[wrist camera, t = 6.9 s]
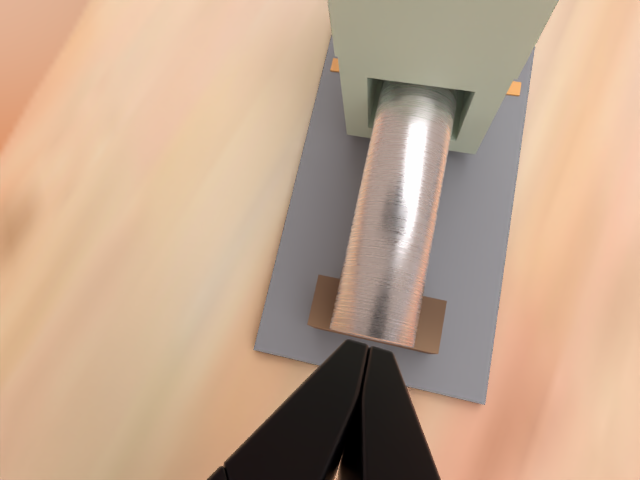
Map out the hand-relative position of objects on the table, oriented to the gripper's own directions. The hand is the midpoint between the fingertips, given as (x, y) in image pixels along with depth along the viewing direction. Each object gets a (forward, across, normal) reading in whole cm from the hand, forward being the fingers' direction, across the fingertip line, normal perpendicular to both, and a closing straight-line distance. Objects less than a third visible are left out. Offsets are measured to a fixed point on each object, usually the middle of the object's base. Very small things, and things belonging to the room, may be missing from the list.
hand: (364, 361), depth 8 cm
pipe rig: (+16, 0, +2) cm, 16 cm away
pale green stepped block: (+16, 0, -1) cm, 16 cm away
